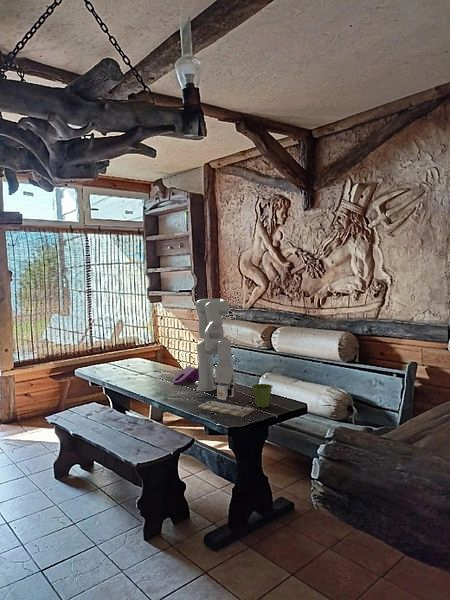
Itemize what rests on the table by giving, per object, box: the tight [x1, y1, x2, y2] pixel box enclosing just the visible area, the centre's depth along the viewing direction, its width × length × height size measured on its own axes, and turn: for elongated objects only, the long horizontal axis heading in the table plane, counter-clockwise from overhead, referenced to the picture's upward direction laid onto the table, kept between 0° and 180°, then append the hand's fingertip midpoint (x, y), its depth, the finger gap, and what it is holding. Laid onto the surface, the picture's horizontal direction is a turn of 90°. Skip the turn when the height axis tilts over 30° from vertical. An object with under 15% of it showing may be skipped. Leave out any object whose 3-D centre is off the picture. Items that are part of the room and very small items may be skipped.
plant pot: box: [251, 383, 273, 408], centre depth 257 cm, size 12×12×11 cm
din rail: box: [204, 400, 248, 412], centre depth 252 cm, size 26×4×2 cm, turn 55°
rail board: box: [197, 400, 256, 418], centre depth 252 cm, size 30×12×1 cm, turn 55°
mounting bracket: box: [171, 365, 199, 386], centre depth 315 cm, size 10×8×18 cm
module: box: [216, 383, 235, 401], centre depth 251 cm, size 5×9×8 cm, turn 145°
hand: (225, 394), depth 251 cm, fingers closed on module, 5 cm apart
